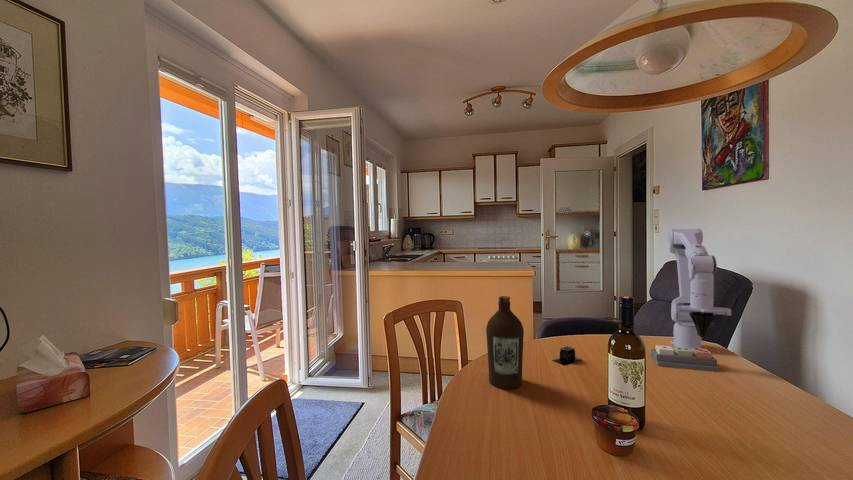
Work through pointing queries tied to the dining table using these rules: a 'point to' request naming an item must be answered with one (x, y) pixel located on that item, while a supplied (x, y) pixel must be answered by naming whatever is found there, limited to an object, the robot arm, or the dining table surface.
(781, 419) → the dining table surface
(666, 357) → the keypad base
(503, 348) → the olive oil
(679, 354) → the key two pip
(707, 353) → the key three pip
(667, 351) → the key one pip
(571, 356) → the black block
